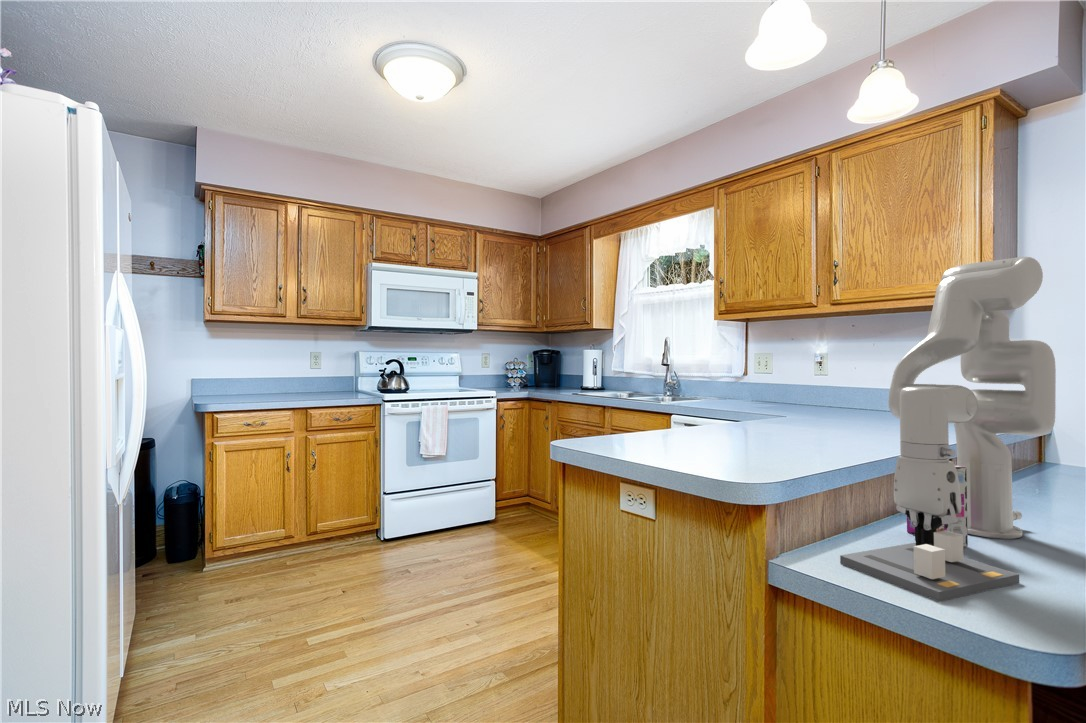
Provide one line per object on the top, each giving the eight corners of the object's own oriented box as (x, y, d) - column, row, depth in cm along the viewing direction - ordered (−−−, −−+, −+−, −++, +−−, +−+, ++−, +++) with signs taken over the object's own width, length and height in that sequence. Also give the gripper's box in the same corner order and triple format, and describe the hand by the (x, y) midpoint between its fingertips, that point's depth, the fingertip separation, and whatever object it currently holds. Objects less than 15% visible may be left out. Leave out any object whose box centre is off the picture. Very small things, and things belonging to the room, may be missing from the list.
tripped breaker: (945, 554, 100) (945, 530, 100) (963, 559, 97) (962, 534, 97) (934, 556, 99) (933, 532, 99) (951, 562, 96) (951, 537, 96)
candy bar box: (969, 547, 110) (968, 467, 110) (947, 548, 110) (945, 467, 110) (926, 531, 121) (925, 458, 121) (905, 532, 121) (904, 458, 121)
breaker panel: (914, 550, 109) (914, 542, 109) (1019, 583, 92) (1019, 573, 92) (840, 563, 102) (840, 554, 102) (939, 601, 85) (939, 591, 85)
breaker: (927, 570, 93) (926, 544, 93) (945, 576, 90) (944, 549, 90) (914, 572, 92) (913, 546, 92) (932, 579, 89) (931, 551, 89)
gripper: (980, 456, 97) (982, 559, 96) (900, 445, 111) (902, 535, 110) (951, 459, 94) (953, 564, 94) (873, 447, 108) (875, 539, 108)
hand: (925, 548), depth 102 cm, fingers closed
